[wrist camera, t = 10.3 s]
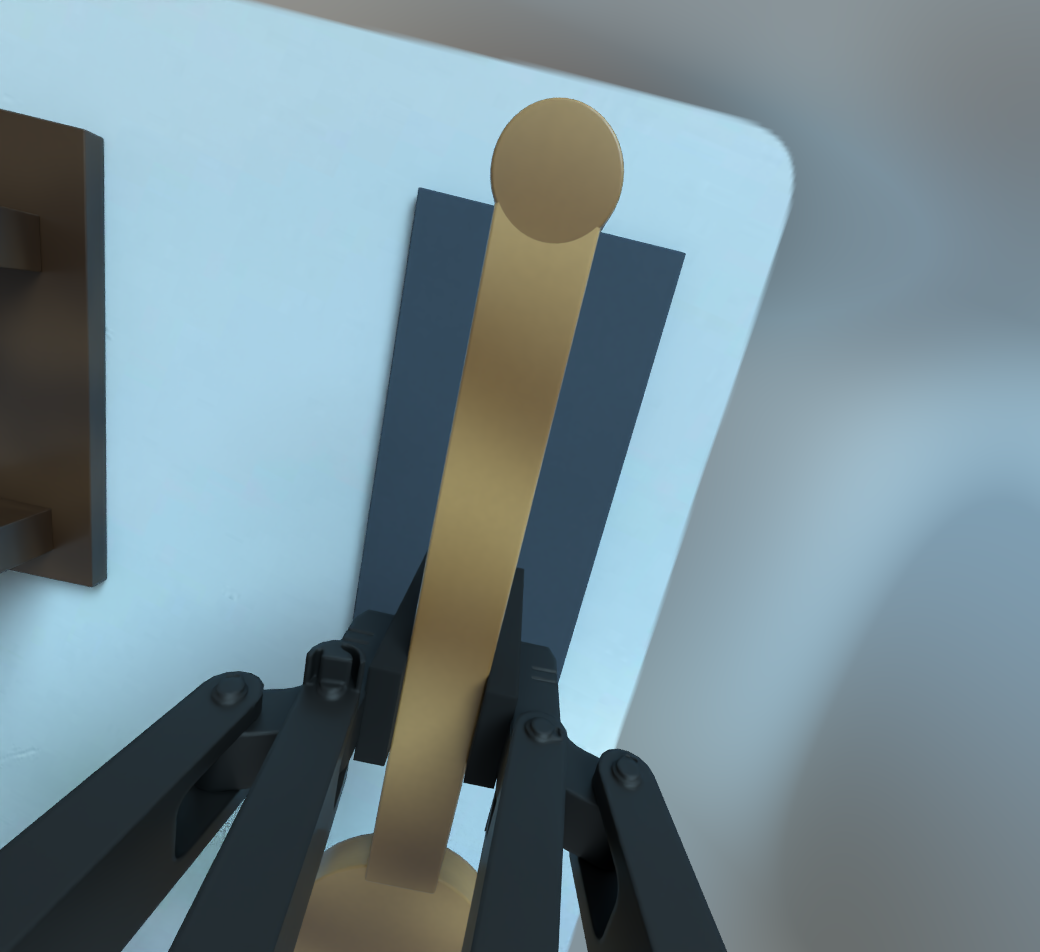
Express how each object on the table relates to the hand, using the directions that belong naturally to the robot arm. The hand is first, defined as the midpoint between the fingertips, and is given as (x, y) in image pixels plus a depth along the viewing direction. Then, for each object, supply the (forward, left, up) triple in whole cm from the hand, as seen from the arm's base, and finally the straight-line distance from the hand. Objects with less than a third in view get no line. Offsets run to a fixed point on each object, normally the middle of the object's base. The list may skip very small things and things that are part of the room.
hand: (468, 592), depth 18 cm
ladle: (-1, 0, +5) cm, 5 cm away
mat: (-1, 0, -8) cm, 9 cm away
